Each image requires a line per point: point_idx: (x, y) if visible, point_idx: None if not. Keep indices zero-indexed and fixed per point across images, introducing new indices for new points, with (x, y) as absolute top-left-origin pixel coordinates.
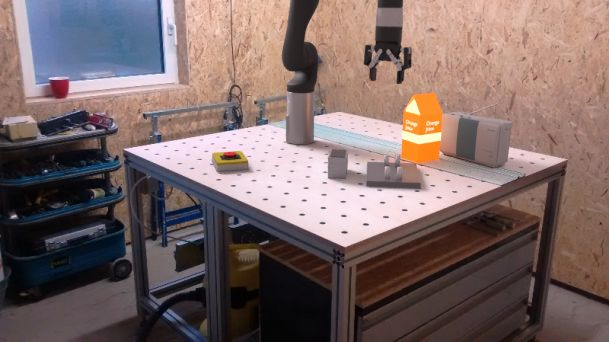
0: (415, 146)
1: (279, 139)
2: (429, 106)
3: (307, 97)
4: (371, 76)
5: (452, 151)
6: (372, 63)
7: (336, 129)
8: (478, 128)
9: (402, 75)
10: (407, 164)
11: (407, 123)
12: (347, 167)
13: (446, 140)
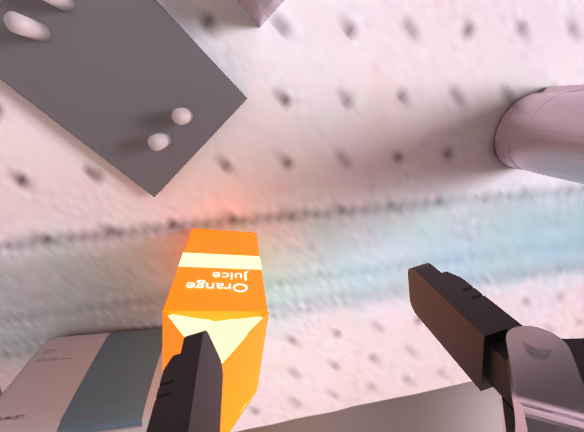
0: (198, 248)
1: None
2: None
3: None
4: (441, 282)
5: None
6: (546, 381)
7: (515, 275)
8: (62, 408)
9: (157, 419)
10: (158, 171)
11: (238, 283)
12: (249, 12)
13: None
